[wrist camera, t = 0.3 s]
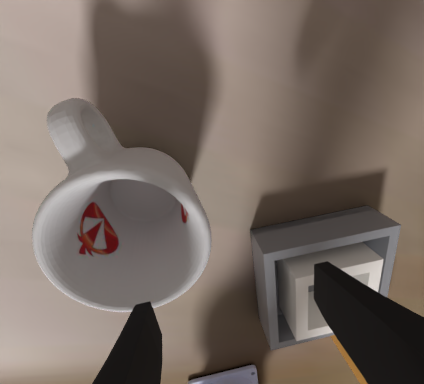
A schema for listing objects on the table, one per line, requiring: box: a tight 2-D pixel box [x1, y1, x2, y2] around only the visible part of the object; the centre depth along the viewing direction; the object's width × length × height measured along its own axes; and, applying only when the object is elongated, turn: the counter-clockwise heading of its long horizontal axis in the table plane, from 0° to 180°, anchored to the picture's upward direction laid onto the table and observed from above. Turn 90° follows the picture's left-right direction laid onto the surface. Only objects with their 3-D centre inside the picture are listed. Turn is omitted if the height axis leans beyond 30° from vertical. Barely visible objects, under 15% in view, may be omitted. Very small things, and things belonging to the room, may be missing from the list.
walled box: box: [250, 206, 401, 350], centre depth 22 cm, size 11×11×4 cm
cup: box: [32, 98, 211, 312], centre depth 14 cm, size 11×8×8 cm
